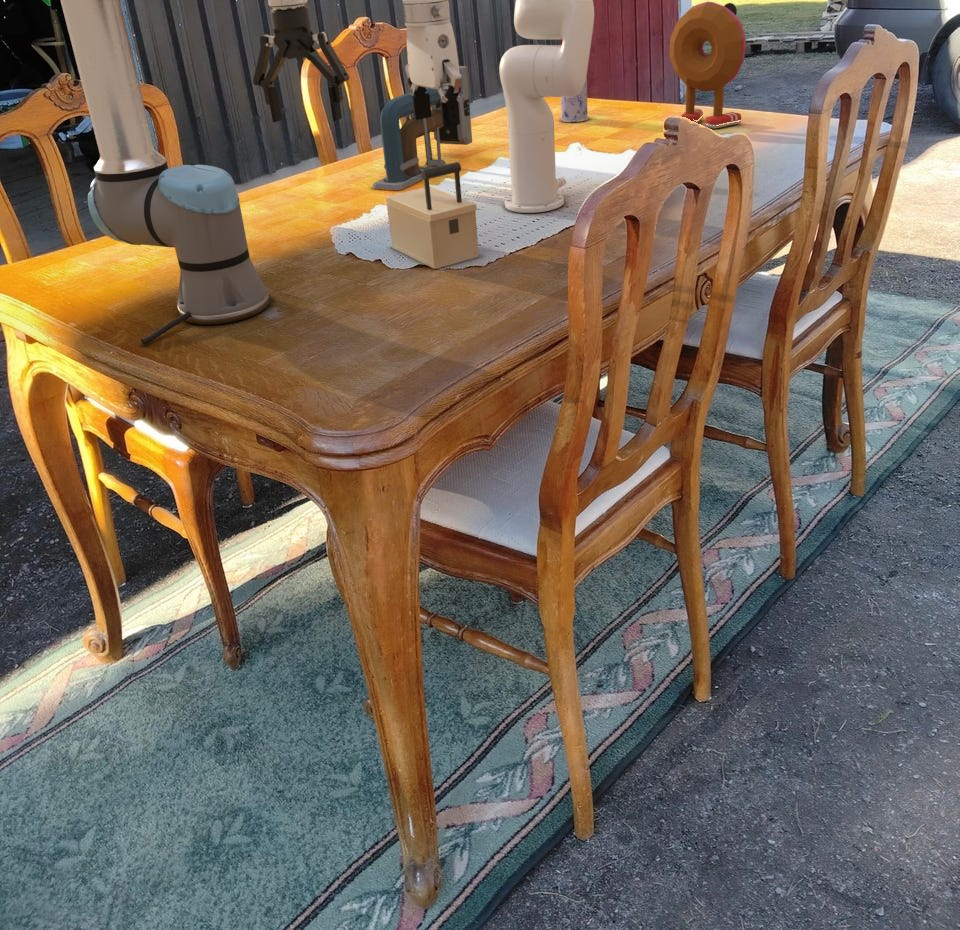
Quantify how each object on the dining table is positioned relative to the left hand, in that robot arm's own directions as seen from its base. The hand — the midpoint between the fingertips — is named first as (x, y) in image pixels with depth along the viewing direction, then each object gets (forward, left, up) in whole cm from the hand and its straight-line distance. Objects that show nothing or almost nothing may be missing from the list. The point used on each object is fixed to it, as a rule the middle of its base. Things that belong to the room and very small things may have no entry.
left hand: (307, 120), depth 199 cm
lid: (-19, -32, -12) cm, 40 cm away
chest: (-19, -32, -21) cm, 43 cm away
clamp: (+40, -9, -21) cm, 46 cm away
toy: (+88, -73, -21) cm, 116 cm away
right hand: (-23, -37, +4) cm, 43 cm away
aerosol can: (+97, -35, -21) cm, 105 cm away
